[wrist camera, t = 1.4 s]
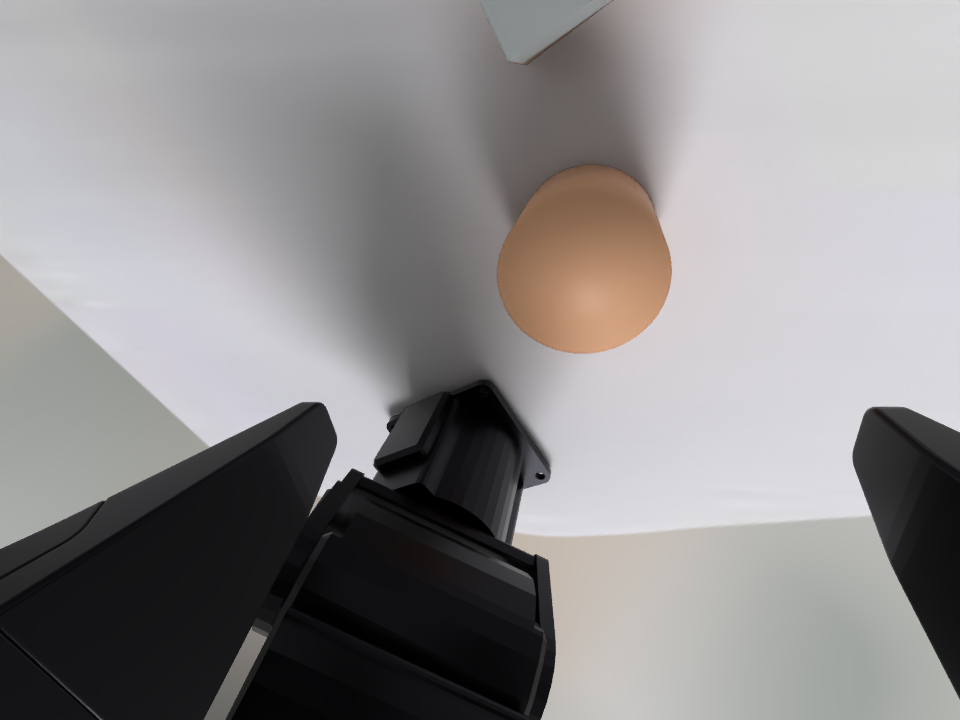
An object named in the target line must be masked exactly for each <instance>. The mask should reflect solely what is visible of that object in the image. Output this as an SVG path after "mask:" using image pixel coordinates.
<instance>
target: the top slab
mask: <svg viewBox="0 0 960 720" xmlns="http://www.w3.org/2000/svg"><path fill="white" fill-rule="evenodd" d="M610 1H612V0H479V2H480V4H481V6H482V8H483V10H484V12H485V14H486V16H487V19H488V21H489V23H490V25H491V27H492V29H493V31H494V33H495V35H496V37H497V39H498V41H499V44H500V46H501V48H502V50H503V52H504V54H505V56H506V58H507V60H508V61H511V62H517V63H522V64H523V63H524V62H526V61H527V60H529V59H530V58H531V57H533V56H534V55H536V54H537V53H538V52H540V51H541V50H543V49H544V48H546V47H547V46H548V45H550V44H551V43H553V42H554V41H555V40H557V39H558V38H560V37H561V36H562V35H564V34H565V33H567V32H568V31H570V30H571V29H572V28H574V27H575V26H577V25H578V24H579V23H581V22H582V21H584V20H585V19H586V18H588V17H589V16H591V15H592V14H594V13H595V12H596V11H598V10H599V9H601V8H602V7H603V6H605V5H606V4H608V3H609V2H610Z"/></svg>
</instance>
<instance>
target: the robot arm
mask: <svg viewBox="0 0 960 720" xmlns="http://www.w3.org/2000/svg"><path fill="white" fill-rule="evenodd" d="M480 389H485V390H487V391H488V393H483V392H482V391H481V390H480ZM387 429H388V431H389V432H390V434H389V436H388V437H387V439H386V441H385V442H384V444H383V446H382V447H381V449H380V451H379V452H378V454H377V456H376V457H375V459H374V464H373V466H374V467H375V468H376V469H377V471H378V472H377V473H376V475H375V477H374V479H373V480H371V479H369V478H367V477H364V473H362V472H360V471H357V470H355V469H353V468H352V469H351V470H350V472H349V473H348V474H347V475H346V477H345V478H344V479H343V480H342V482H341V481H339V480H338V481H337V482H336V484H335V485H334V486H333V487H332V489H327V491H326V492H325V494H324V495H323V497H322V498H321V500H320V501H319V503H318V504H317V506H316V507H315V508H314V510H313V511H312V513H311V514H310V511H311V509H312V506H313V504H314V502H315V499H316V497H317V494H318V492H319V489H320V487H321V484H322V482H323V479H324V477H325V474H326V472H327V469H328V467H329V464H330V462H331V459H332V457H333V454H334V452H335V449H336V445H337V435H336V432H335V429H334V427H333V424H332V422H331V419H330V416H329V414H328V411H327V409H326V407H325V406H324V404H322V403H320V402H302V403H299V404H297V405H295V406H293V407H291V408H289V409H287V410H285V411H283V412H281V413H279V414H277V415H275V416H273V417H271V418H269V419H267V420H265V421H263V422H261V423H259V424H257V425H255V426H253V427H251V428H249V429H247V430H245V431H243V432H241V433H239V434H236V435H234V436H232V437H230V438H228V439H226V440H224V441H222V442H220V443H218V444H216V445H214V446H212V447H210V448H208V449H206V450H204V451H202V452H200V453H198V454H196V455H194V456H192V457H190V458H188V459H186V460H184V461H182V462H180V463H178V464H176V465H174V466H172V467H170V468H168V469H166V470H164V471H162V472H160V473H158V474H155V475H154V476H151V477H149V478H147V479H145V480H143V481H141V482H139V483H137V484H135V485H133V486H131V487H129V488H127V489H125V490H123V491H121V492H119V493H117V494H115V495H113V496H111V497H109V498H108V499H107V500H106V501H101V502H99V503H97V504H95V505H93V506H91V507H88V508H86V509H84V510H82V511H81V512H78V513H76V514H74V515H72V516H70V517H68V518H66V519H64V520H62V521H60V522H58V523H55V524H54V525H51V526H50V527H47V528H45V529H43V530H41V531H39V532H37V533H34V534H32V535H30V536H28V537H26V538H24V539H21V540H20V541H17V542H15V543H13V544H11V545H8V546H6V547H4V548H2V549H0V720H203V719H204V718H205V716H206V714H207V712H208V710H209V708H210V706H211V704H212V702H213V700H214V698H215V696H216V694H217V693H218V691H219V689H220V687H221V685H222V683H223V681H224V679H225V677H226V675H227V673H228V671H229V669H230V667H231V665H232V663H233V662H234V660H235V658H236V656H237V654H238V652H239V650H240V648H241V646H242V644H243V642H244V640H245V638H246V636H247V634H248V632H249V631H250V629H251V627H252V630H253V631H255V632H257V633H259V634H261V635H263V636H266V637H267V639H266V641H265V643H264V645H263V647H262V649H261V651H260V653H259V655H258V657H257V659H256V661H255V663H254V665H253V667H252V668H251V670H250V672H249V674H248V676H247V678H246V680H245V682H244V684H243V686H242V688H241V690H240V692H239V694H238V696H237V698H236V700H235V702H234V704H233V706H232V708H231V710H230V712H229V714H228V716H227V718H226V720H540V719H541V717H542V714H543V711H544V709H545V706H546V703H547V699H548V695H549V692H550V688H551V684H552V678H553V673H554V666H555V655H556V641H555V629H554V618H553V607H552V596H551V585H550V574H549V563H548V560H547V559H545V558H543V557H541V556H539V555H536V554H535V555H534V556H533V555H531V554H529V553H526V552H524V551H522V550H520V549H518V548H516V547H514V546H512V545H511V544H512V540H513V535H514V530H515V525H516V520H517V515H518V510H519V505H520V500H521V496H522V491H523V489H525V488H529V487H532V486H536V485H540V484H543V483H546V482H548V481H549V480H550V474H551V470H550V468H549V466H548V465H547V463H546V462H545V460H544V459H543V457H542V456H541V454H540V453H539V451H538V450H537V448H536V447H535V445H534V444H533V442H532V441H531V439H530V438H529V436H528V435H527V433H526V432H525V430H524V429H523V427H522V426H521V425H520V423H519V422H518V420H517V419H516V417H515V416H514V414H513V413H512V411H511V410H510V408H509V407H508V405H507V404H506V402H505V401H504V399H503V398H502V396H501V395H500V393H499V392H498V390H497V389H496V387H495V386H494V385H493V384H492V383H491V382H490V381H488V380H479V381H477V382H475V383H472V384H470V385H467V386H465V387H463V388H460V389H458V390H455V391H453V392H451V393H450V392H441V393H438V394H436V395H434V396H431V397H429V398H426V399H424V400H422V401H419V402H417V403H415V404H412V405H410V406H407V407H406V408H405V409H404V411H403V413H400V414H398V415H396V416H393V417H392V418H391V419H390V420H389V422H388V423H387ZM853 465H854V468H855V471H856V474H857V476H858V479H859V482H860V484H861V487H862V490H863V492H864V495H865V498H866V500H867V503H868V506H869V509H870V511H871V514H872V517H873V519H874V522H875V525H876V527H877V530H878V533H879V536H880V538H881V541H882V544H883V546H884V549H885V551H886V554H887V556H888V558H889V561H890V563H891V565H892V567H893V570H894V572H895V574H896V576H897V578H898V580H899V582H900V584H901V586H902V588H903V590H904V592H905V593H906V596H907V597H908V600H909V601H910V603H911V605H912V607H913V609H914V611H915V613H916V615H917V617H918V619H919V621H920V623H921V625H922V627H923V629H924V631H925V632H926V634H927V636H928V638H929V640H930V642H931V644H932V646H933V648H934V650H935V652H936V654H937V656H938V658H939V660H940V662H941V664H942V666H943V668H944V670H945V672H946V674H947V675H948V677H949V679H950V681H951V683H952V685H953V687H954V689H955V691H956V693H957V695H958V697H959V699H960V432H958V431H956V430H953V429H951V428H949V427H947V426H945V425H943V424H940V423H938V422H936V421H934V420H932V419H930V418H928V417H925V416H923V415H921V414H919V413H917V412H915V411H912V410H910V409H908V408H905V407H872V408H870V409H868V410H867V411H866V412H865V414H864V416H863V419H862V422H861V426H860V429H859V432H858V435H857V439H856V442H855V445H854V449H853ZM538 472H541V473H543V474H539V473H538ZM309 514H310V516H309ZM308 516H309V517H308Z"/></svg>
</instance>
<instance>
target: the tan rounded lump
mask: <svg viewBox="0 0 960 720" xmlns="http://www.w3.org/2000/svg"><path fill="white" fill-rule="evenodd" d="M671 275H672V268H671V258H670V253H669V249H668V246H667V243H666V240H665V238H664V235H663V232H662V229H661V226H660V224H659V221H658V218H657V215H656V212H655V210H654V207H653V204H652V202H651V200H650V198H649V196H648V194H647V193H646V191H645V190H644V189H643V187H642V186H641V185H640V184H639V183H638V182H637V181H636V180H634V179H633V178H632V177H630V176H629V175H628V174H626V173H624V172H622V171H620V170H618V169H615V168H612V167H608V166H603V165H581V166H576V167H572V168H569V169H566V170H563V171H561V172H559V173H557V174H556V175H554V176H552V177H551V178H550V179H548V180H547V181H546V182H544V183H543V184H542V185H541V186H540V187H539V188H538V189H537V191H536V192H535V193H534V194H533V196H532V197H531V199H530V200H529V202H528V203H527V205H526V207H525V208H524V210H523V211H522V213H521V215H520V216H519V218H518V219H517V221H516V223H515V224H514V226H513V228H512V229H511V231H510V232H509V234H508V236H507V238H506V240H505V242H504V244H503V246H502V249H501V252H500V255H499V260H498V266H497V281H498V289H499V293H500V297H501V299H502V302H503V305H504V307H505V309H506V311H507V312H508V314H509V316H510V317H511V318H512V320H513V321H514V323H515V324H516V325H517V326H518V327H519V328H520V329H521V330H522V331H523V332H524V333H526V334H527V335H528V336H529V337H531V338H532V339H534V340H535V341H537V342H539V343H541V344H543V345H545V346H547V347H550V348H552V349H555V350H559V351H563V352H569V353H596V352H601V351H606V350H609V349H612V348H615V347H618V346H620V345H622V344H624V343H627V342H628V341H630V340H631V339H633V338H635V337H636V336H637V335H639V334H640V333H641V332H642V331H644V330H645V329H646V328H647V327H648V326H649V325H650V324H651V323H652V321H653V320H654V319H655V318H656V316H657V315H658V314H659V312H660V310H661V308H662V307H663V305H664V303H665V300H666V298H667V295H668V292H669V288H670V284H671Z"/></svg>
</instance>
